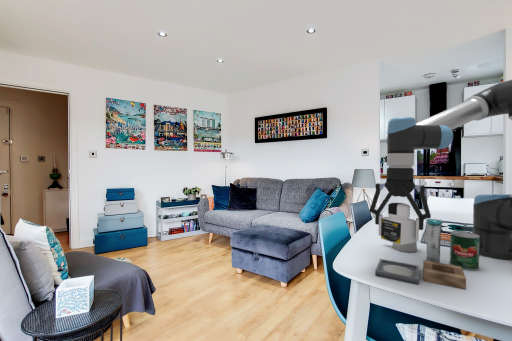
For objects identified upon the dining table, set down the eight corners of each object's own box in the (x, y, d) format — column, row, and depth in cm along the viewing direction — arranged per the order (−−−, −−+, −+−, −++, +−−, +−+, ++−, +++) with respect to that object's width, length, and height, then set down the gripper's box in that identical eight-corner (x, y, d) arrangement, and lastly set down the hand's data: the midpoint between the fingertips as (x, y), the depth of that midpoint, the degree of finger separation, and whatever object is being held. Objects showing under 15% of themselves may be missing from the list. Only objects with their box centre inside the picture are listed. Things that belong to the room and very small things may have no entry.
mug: (417, 247, 109) (417, 221, 109) (416, 253, 102) (416, 225, 101) (385, 242, 116) (385, 218, 115) (382, 248, 108) (382, 221, 108)
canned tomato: (470, 261, 94) (471, 231, 93) (484, 271, 86) (485, 238, 85) (445, 260, 95) (446, 230, 95) (456, 269, 88) (457, 236, 87)
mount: (460, 276, 82) (461, 266, 82) (465, 289, 74) (466, 278, 74) (423, 269, 88) (423, 260, 87) (423, 280, 79) (423, 270, 79)
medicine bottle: (380, 238, 86) (381, 202, 85) (395, 236, 89) (397, 201, 88) (400, 245, 79) (401, 205, 79) (416, 242, 82) (417, 204, 82)
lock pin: (440, 261, 94) (441, 219, 94) (441, 265, 90) (442, 222, 90) (425, 258, 97) (426, 218, 96) (425, 262, 93) (426, 220, 92)
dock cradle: (418, 270, 86) (418, 265, 86) (418, 284, 76) (418, 279, 76) (380, 263, 92) (380, 258, 92) (375, 275, 83) (375, 270, 83)
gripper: (442, 167, 80) (439, 239, 81) (364, 166, 92) (363, 229, 93) (444, 168, 74) (441, 246, 75) (360, 166, 86) (358, 234, 87)
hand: (398, 237), depth 84 cm, fingers closed on medicine bottle, 10 cm apart
